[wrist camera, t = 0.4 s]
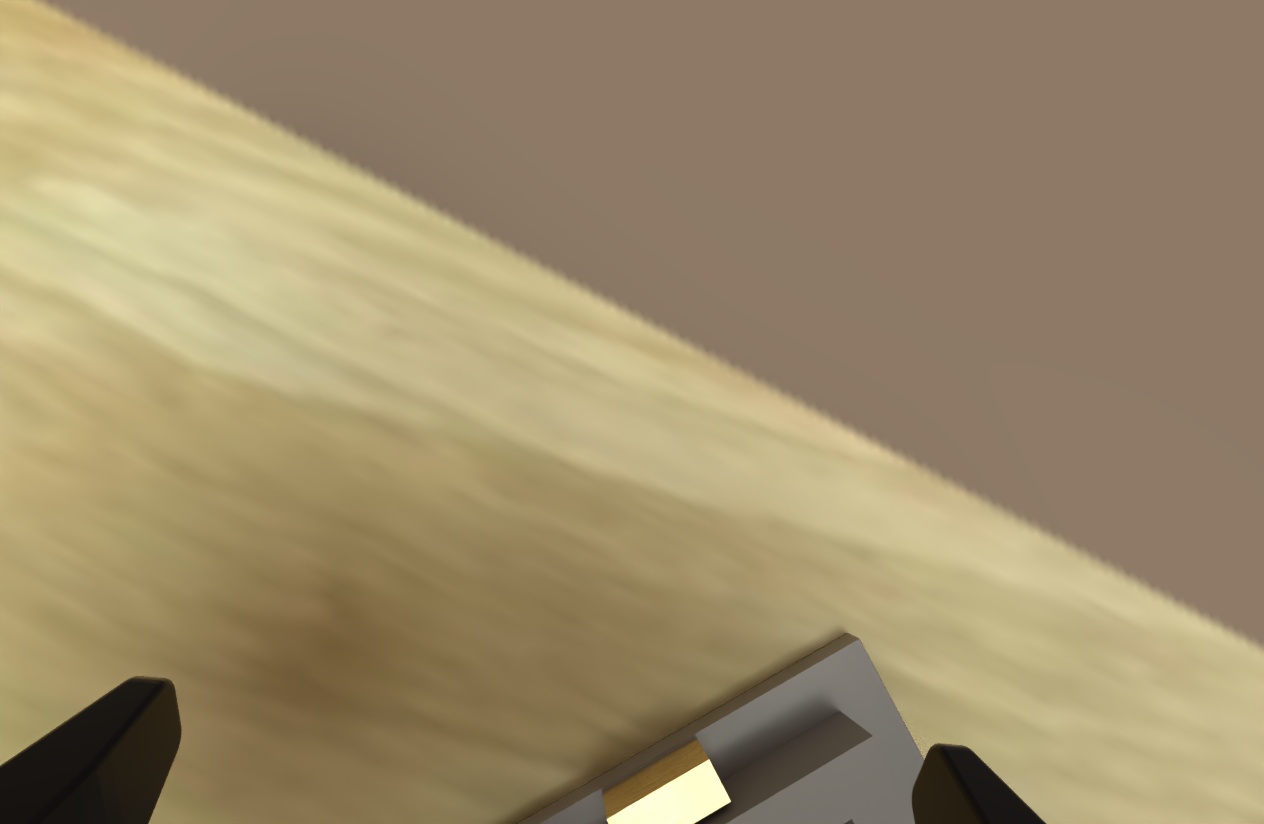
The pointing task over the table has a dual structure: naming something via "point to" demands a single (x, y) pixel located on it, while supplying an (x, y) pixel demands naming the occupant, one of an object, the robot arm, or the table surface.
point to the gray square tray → (770, 757)
